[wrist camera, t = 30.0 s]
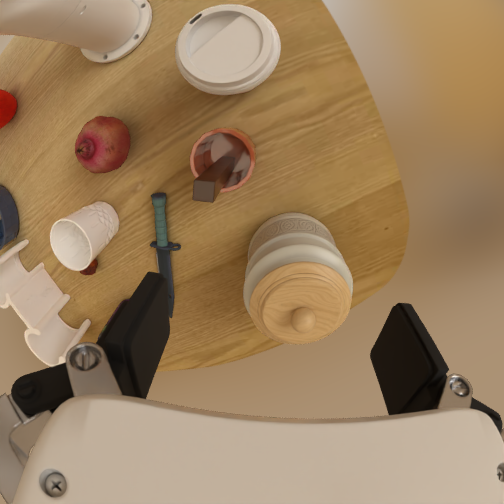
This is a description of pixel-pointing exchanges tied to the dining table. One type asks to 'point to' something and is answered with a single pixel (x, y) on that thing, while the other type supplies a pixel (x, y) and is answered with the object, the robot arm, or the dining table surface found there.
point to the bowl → (7, 218)
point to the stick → (213, 179)
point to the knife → (163, 245)
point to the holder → (225, 154)
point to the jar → (296, 280)
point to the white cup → (83, 234)
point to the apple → (6, 107)
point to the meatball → (90, 268)
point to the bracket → (38, 307)
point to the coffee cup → (227, 49)
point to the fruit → (103, 144)
